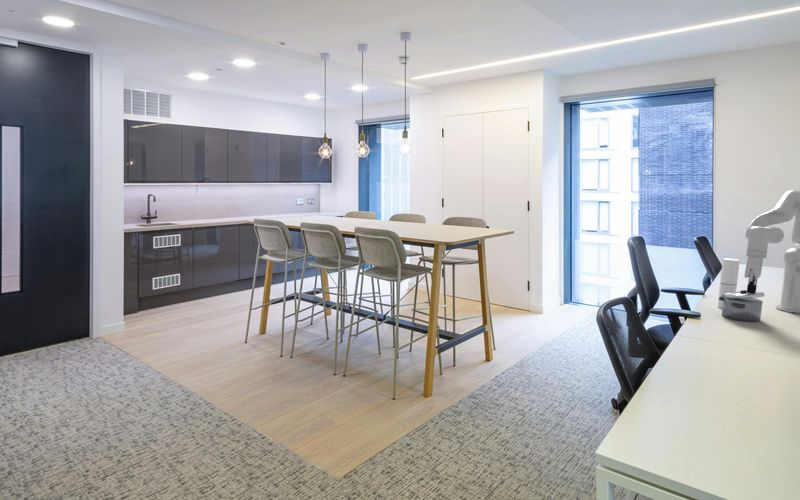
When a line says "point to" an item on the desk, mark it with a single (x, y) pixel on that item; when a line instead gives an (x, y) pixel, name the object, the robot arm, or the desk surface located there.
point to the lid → (743, 294)
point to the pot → (741, 309)
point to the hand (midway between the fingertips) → (751, 293)
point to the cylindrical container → (728, 277)
